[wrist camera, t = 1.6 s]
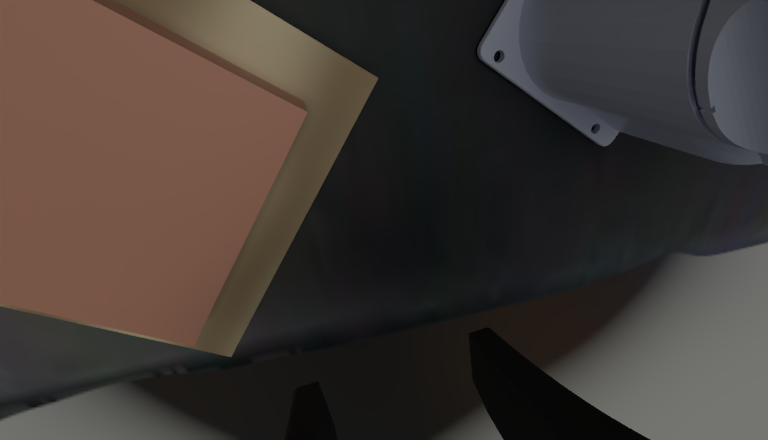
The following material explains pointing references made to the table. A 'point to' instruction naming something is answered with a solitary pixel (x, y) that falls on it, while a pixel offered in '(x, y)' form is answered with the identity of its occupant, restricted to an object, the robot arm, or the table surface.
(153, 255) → the salmon orange slab
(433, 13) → the table surface
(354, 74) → the wooden block
